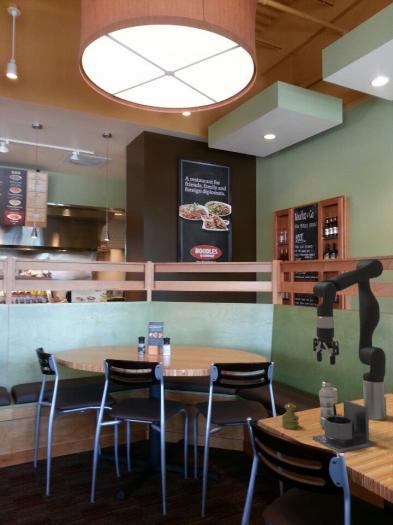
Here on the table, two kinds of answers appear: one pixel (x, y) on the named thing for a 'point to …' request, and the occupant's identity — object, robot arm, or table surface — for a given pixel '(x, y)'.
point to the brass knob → (290, 417)
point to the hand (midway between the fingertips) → (325, 363)
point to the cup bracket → (347, 429)
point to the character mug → (334, 400)
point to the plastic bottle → (326, 401)
